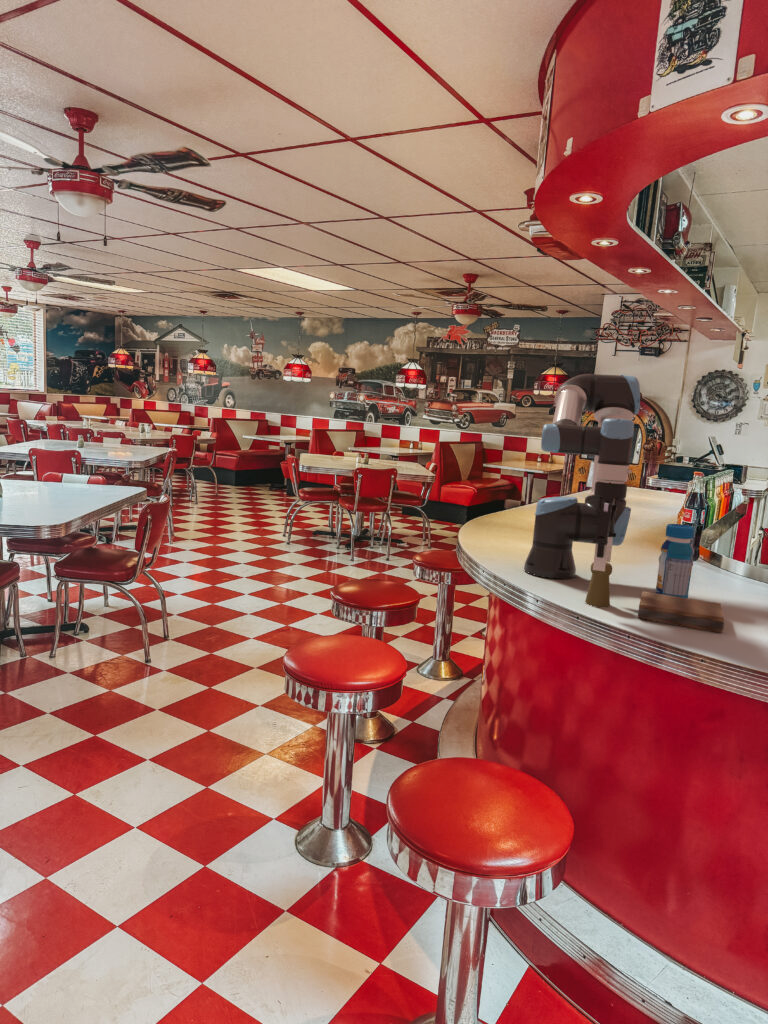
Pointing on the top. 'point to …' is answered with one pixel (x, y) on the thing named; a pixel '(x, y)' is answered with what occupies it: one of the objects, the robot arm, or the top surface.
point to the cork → (599, 587)
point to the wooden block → (681, 611)
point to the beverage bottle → (676, 561)
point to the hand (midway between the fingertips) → (601, 565)
